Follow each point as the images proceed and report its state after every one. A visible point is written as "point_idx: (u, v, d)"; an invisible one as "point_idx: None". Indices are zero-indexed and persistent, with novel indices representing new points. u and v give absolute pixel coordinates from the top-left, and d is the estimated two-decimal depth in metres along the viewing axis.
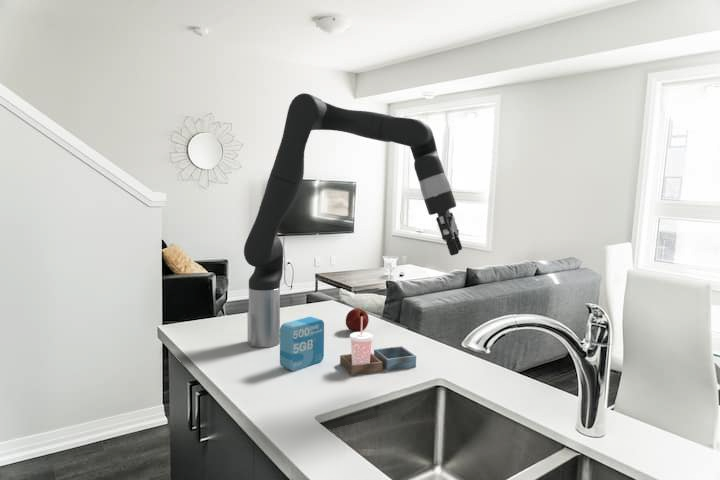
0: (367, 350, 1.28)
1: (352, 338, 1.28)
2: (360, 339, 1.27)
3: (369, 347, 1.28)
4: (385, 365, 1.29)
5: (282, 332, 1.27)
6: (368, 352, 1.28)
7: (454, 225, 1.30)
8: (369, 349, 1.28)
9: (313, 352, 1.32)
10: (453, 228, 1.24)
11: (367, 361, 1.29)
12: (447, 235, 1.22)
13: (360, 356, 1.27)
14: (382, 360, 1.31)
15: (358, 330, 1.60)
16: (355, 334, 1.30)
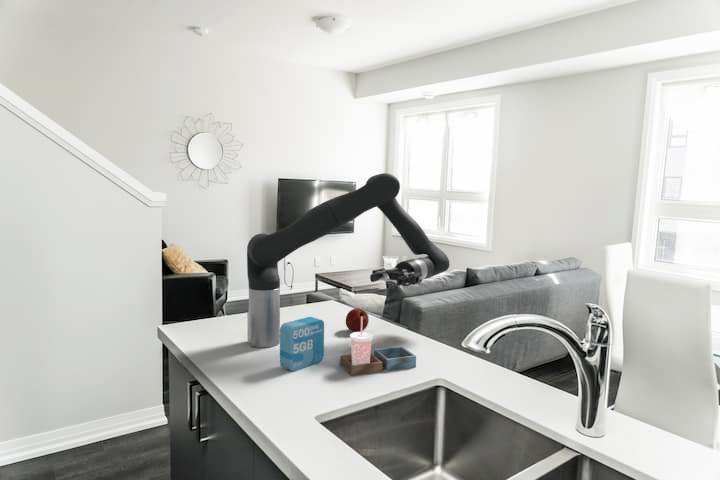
0: (367, 350, 1.28)
1: (352, 338, 1.28)
2: (360, 339, 1.27)
3: (369, 347, 1.28)
4: (385, 365, 1.29)
5: (282, 332, 1.27)
6: (368, 352, 1.28)
7: (390, 280, 1.44)
8: (369, 349, 1.28)
9: (313, 352, 1.32)
10: None
11: (367, 361, 1.29)
12: (415, 280, 1.38)
13: (360, 356, 1.27)
14: (382, 360, 1.31)
15: (358, 330, 1.60)
16: (355, 334, 1.30)
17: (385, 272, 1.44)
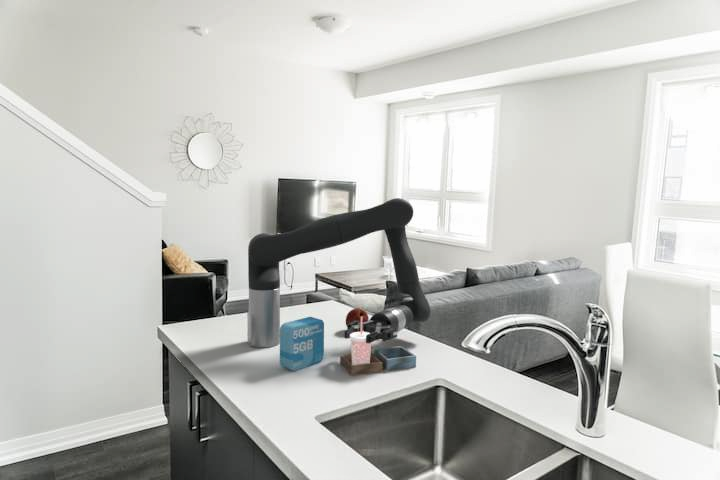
0: (367, 350, 1.28)
1: (352, 338, 1.28)
2: (360, 339, 1.27)
3: (369, 347, 1.28)
4: (385, 365, 1.29)
5: (282, 332, 1.27)
6: (368, 352, 1.28)
7: None
8: (369, 349, 1.28)
9: (313, 352, 1.32)
10: None
11: (367, 361, 1.29)
12: (386, 336, 1.29)
13: (360, 356, 1.27)
14: (382, 360, 1.31)
15: None
16: (355, 334, 1.30)
17: None
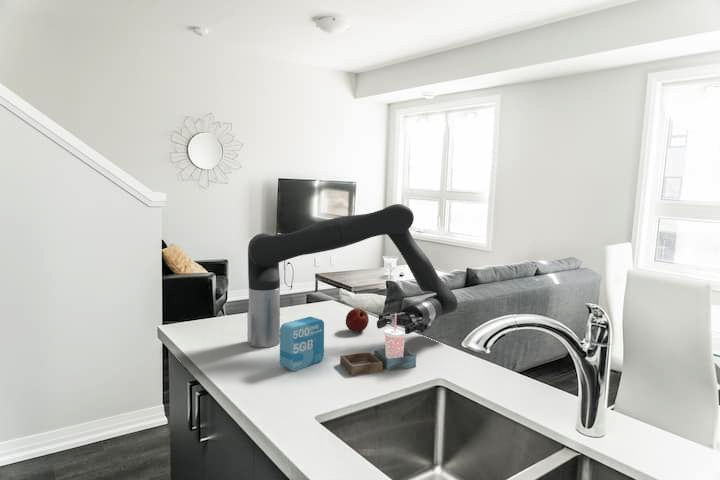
0: (401, 346, 1.32)
1: (386, 334, 1.32)
2: (394, 335, 1.31)
3: (403, 343, 1.32)
4: (385, 365, 1.29)
5: (282, 332, 1.27)
6: (402, 348, 1.32)
7: (397, 325, 1.38)
8: (403, 345, 1.32)
9: (313, 352, 1.32)
10: None
11: (401, 356, 1.32)
12: (424, 327, 1.32)
13: (394, 351, 1.31)
14: (382, 360, 1.31)
15: (358, 330, 1.60)
16: (389, 330, 1.34)
17: (392, 317, 1.38)
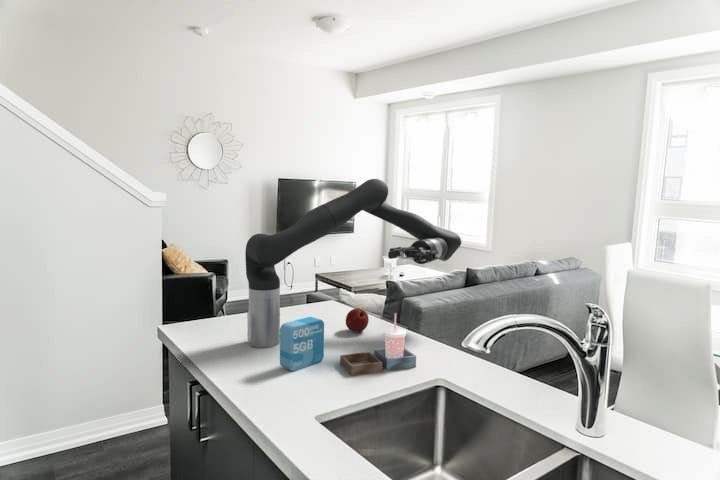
0: (401, 346, 1.32)
1: (386, 334, 1.32)
2: (394, 335, 1.30)
3: (403, 343, 1.32)
4: (385, 365, 1.29)
5: (282, 332, 1.27)
6: (402, 348, 1.32)
7: (407, 257, 1.49)
8: (403, 345, 1.32)
9: (313, 352, 1.32)
10: None
11: (401, 356, 1.32)
12: None
13: (394, 351, 1.31)
14: (382, 360, 1.31)
15: (358, 330, 1.60)
16: (389, 331, 1.34)
17: (402, 250, 1.48)
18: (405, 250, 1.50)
